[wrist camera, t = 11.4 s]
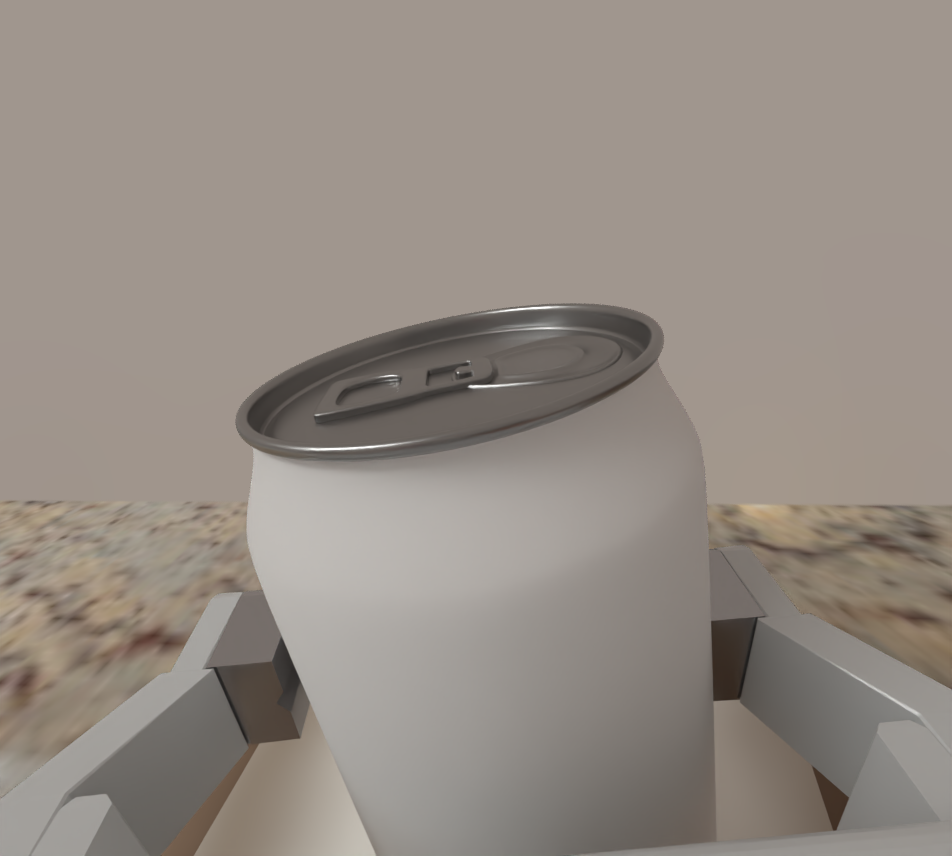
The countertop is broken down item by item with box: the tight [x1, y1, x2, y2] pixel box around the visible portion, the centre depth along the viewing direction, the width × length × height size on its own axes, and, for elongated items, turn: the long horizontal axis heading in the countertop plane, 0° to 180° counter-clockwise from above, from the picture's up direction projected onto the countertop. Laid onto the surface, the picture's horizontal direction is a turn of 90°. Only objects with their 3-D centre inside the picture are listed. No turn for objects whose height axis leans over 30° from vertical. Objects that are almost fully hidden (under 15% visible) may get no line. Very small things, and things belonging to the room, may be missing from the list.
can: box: [236, 304, 717, 856], centre depth 10 cm, size 6×6×12 cm
